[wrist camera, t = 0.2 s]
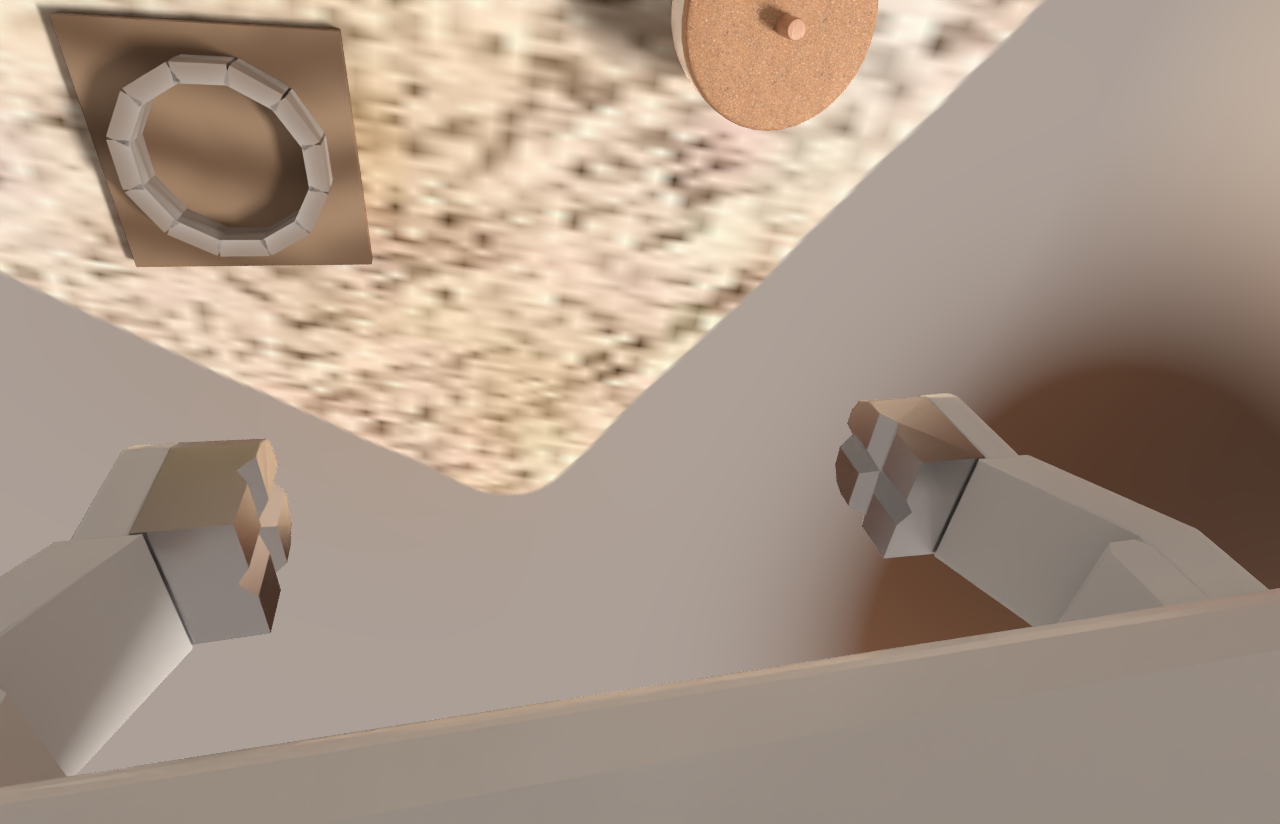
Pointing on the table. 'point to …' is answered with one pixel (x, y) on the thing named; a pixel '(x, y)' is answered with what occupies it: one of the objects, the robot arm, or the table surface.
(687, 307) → the table surface
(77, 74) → the collar board
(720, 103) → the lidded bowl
